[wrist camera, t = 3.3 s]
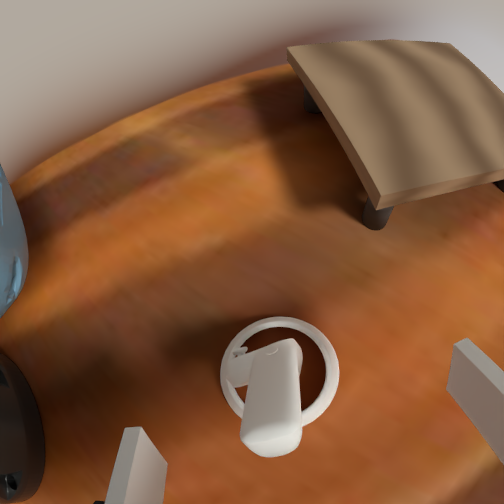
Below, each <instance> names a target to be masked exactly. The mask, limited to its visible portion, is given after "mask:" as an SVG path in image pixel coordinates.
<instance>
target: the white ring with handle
mask: <svg viewBox="0 0 504 504" xmlns="http://www.w3.org/2000/svg"><path fill="white" fill-rule="evenodd" d="M271 327H289V328H292V329H296V330H299V331H301V332H303V333H305V334H306V335H307V336H309V337H310V338H311V339H312V340H313V341H314V342H315V343H316V344H317V345H318V347H319V349H320V350H321V352H322V354H323V357H324V360H325V365H326V377H325V382H324V386H323V389H322V391H321V392H320V394H319V396H318V398H317V399H316V400H315V401H314V402H313V403H312V404H311V405H310V406H309V407H308V408H306V409H305V410H303V411H301V399H300V384H299V375H300V372H301V366H302V360H303V355H302V350H301V347H300V346H299V345H298V343H297V342H296V341H295V340H294V339H293V338H290V339H285V340H281V341H278V342H275V343H273V344H270V345H268V346H265V347H263V348H260V349H258V350H255V351H252V352H250V353H247V354H245V352H246V351H247V350H248V348H247V347H241V345H242V344H243V343H244V342H245V341H246V340H247V339H248V338H249V337H251V336H252V335H253V334H255V333H257V332H259V331H261V330H264V329H267V328H271ZM240 347H241V348H240ZM236 355H237V356H238V357H236V358H235V356H236ZM220 380H221V386H222V390H223V394H224V396H225V398H226V400H227V402H228V404H229V406H230V407H231V408H232V409H233V411H234V412H235V413H236V414H237V415H238V416H239V417H240V418H242V422H241V429H240V439H241V441H242V442H243V443H244V444H245V445H246V446H247V447H248V448H249V449H250V450H251V451H253V452H254V453H256V454H258V455H259V456H263V457H276V456H281V455H285V454H288V453H290V452H291V451H293V450H295V449H296V448H297V447H298V445H299V443H300V440H301V436H302V427H303V426H304V425H306V424H308V423H310V422H312V421H313V420H315V419H316V418H317V417H319V416H320V415H321V414H322V413H323V412H324V411H325V409H326V408H327V407H328V406H329V405H330V403H331V401H332V399H333V397H334V395H335V393H336V389H337V386H338V381H339V365H338V359H337V356H336V353H335V350H334V349H333V347H332V345H331V343H330V342H329V340H328V339H327V338H326V337H325V336H324V334H323V333H322V332H321V331H319V330H318V329H317V328H315V327H314V326H313V325H311V324H309V323H307V322H305V321H303V320H299V319H296V318H292V317H281V316H280V317H270V318H266V319H262V320H259V321H257V322H255V323H253V324H251V325H249V326H247V327H246V328H244V329H243V330H242V331H240V332H239V333H238V334H237V335H236V337H235V338H234V339H233V340H232V341H231V343H230V344H229V346H228V348H227V349H226V351H225V354H224V356H223V359H222V363H221V370H220ZM245 385H248V389H247V394H246V400H245V404H244V402H243V401H242V400H241V399H240V397H239V396H238V394H237V392H236V390H235V388H234V387H241V386H245Z"/></svg>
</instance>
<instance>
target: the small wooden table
mask: <svg viewBox="0 0 504 504" xmlns="http://www.w3.org/2000/svg"><path fill="white" fill-rule="evenodd" d="M287 61H288V62H289V64H290V65H291V66H292V68H293V69H294V71H295V72H296V74H297V75H298V77H299V78H300V80H301V81H302V82H303V84H304V109H305V110H306V111H308V112H310V113H319V112H322V114H323V115H324V117H325V118H326V120H327V122H328V123H329V125H330V127H331V128H332V130H333V132H334V133H335V135H336V137H337V139H338V140H339V142H340V144H341V145H342V147H343V149H344V151H345V153H346V154H347V156H348V158H349V160H350V162H351V163H352V165H353V167H354V169H355V171H356V173H357V174H358V176H359V178H360V180H361V182H362V184H363V186H364V188H365V190H366V192H367V194H368V199H367V202H366V205H365V208H364V211H363V214H362V221H363V223H364V225H365V226H366V227H368V228H369V229H371V230H380V229H382V228H384V226H385V225H386V223H387V220H388V218H389V216H390V214H391V212H392V210H393V207H394V206H395V205H399V204H403V203H407V202H411V201H415V200H419V199H423V198H428V197H432V196H436V195H440V194H444V193H448V192H452V191H456V190H461V189H465V188H469V187H473V186H477V185H482V184H486V183H490V182H494V181H497V184H498V186H499V188H500V189H501V190H502V191H503V192H504V93H503V92H502V91H501V90H500V89H499V88H498V87H497V86H496V85H495V84H494V83H493V82H492V81H491V80H490V79H489V78H488V77H487V76H486V75H485V74H484V73H483V72H481V70H480V69H478V68H477V67H476V66H475V65H474V64H473V63H472V62H471V61H470V60H469V59H467V58H466V57H465V56H464V55H463V54H462V53H460V52H459V51H458V50H457V49H456V48H455V47H453V46H452V45H451V44H449V43H438V42H423V41H398V40H375V41H374V40H373V41H346V42H331V43H320V44H310V45H301V46H294V47H287Z"/></svg>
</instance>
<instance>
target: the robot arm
mask: <svg viewBox="0 0 504 504" xmlns="http://www.w3.org/2000/svg"><path fill="white" fill-rule="evenodd" d="M28 260H29V255H28V244H27V237H26V233H25V229H24V225H23V221H22V218H21V215H20V212H19V209H18V206H17V203H16V200H15V198H14V195H13V193H12V190H11V188H10V185H9V183H8V180H7V178H6V176H5V173H4V171H3V169H2V167H1V164H0V318H1V317H2V316H3V314H4V313H5V312H6V311H7V309H8V308H9V307H10V306H11V305H12V303H13V302H14V301H15V300H16V298H17V297H18V295H19V294H20V292H21V290H22V288H23V286H24V283H25V280H26V276H27V271H28ZM446 390H447V391H448V392H449V393H450V395H451V396H452V397H453V398H454V400H455V401H456V402H457V404H458V405H459V406H460V407H461V409H462V410H463V411H464V412H465V414H466V415H467V416H468V418H469V419H470V420H471V422H472V423H473V424H474V425H475V427H476V428H477V429H478V431H479V432H480V433H481V435H482V436H483V437H484V439H485V440H486V441H487V443H488V444H489V445H490V447H491V448H492V450H493V451H494V452H495V454H496V455H497V456H498V458H499V459H500V461H501V462H502V463H503V465H504V372H503V371H502V370H501V369H500V368H499V367H498V366H497V365H496V364H495V363H494V362H493V361H492V360H491V359H490V358H489V357H488V356H487V355H486V354H485V353H483V352H482V351H481V350H480V349H479V348H478V347H477V346H476V345H475V344H474V343H473V342H472V341H470V340H469V339H468V338H465V339H463V340H461V341H459V342H457V343H455V344H454V346H453V353H452V360H451V366H450V372H449V377H448V383H447V388H446ZM44 464H45V444H44V435H43V429H42V423H41V419H40V415H39V411H38V408H37V405H36V402H35V399H34V396H33V394H32V392H31V389H30V387H29V385H28V383H27V381H26V379H25V378H24V376H23V374H22V373H21V371H20V370H19V369H18V367H17V366H16V365H15V364H14V363H13V362H12V361H11V360H10V359H9V358H7V357H6V356H5V355H3V354H1V353H0V504H10V503H16V502H22V501H25V500H27V499H29V498H30V497H31V496H33V495H34V493H35V492H36V491H37V489H38V487H39V485H40V483H41V480H42V476H43V472H44ZM167 465H168V463H167V462H166V461H165V459H164V458H163V457H162V455H161V454H160V453H159V451H158V450H157V449H156V447H155V446H154V444H153V443H152V442H151V440H150V439H149V437H148V436H147V434H146V433H145V432H144V430H143V429H142V427H128V428H125V430H124V433H123V436H122V440H121V443H120V447H119V450H118V454H117V458H116V461H115V465H114V469H113V473H112V476H111V480H110V484H109V488H108V492H107V496H106V500H105V501H95V502H94V503H93V504H163V497H164V489H165V481H166V473H167Z"/></svg>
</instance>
